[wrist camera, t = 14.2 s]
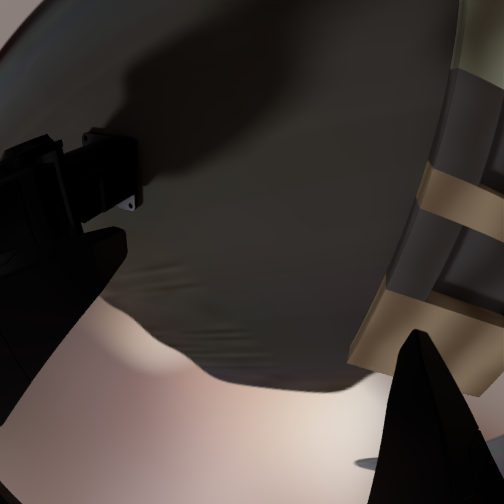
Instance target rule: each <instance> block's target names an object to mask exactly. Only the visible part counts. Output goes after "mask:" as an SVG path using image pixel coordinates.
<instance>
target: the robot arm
mask: <svg viewBox="0 0 504 504" xmlns="http://www.w3.org/2000/svg"><path fill="white" fill-rule="evenodd" d="M82 143H83V147H80V148H77V149H75V150H72V151H70V152H67V153H65V154H63V149H62V147H63V143H62V140H58V141H53V139H51V138H50V137H49V136H48V134H45V135H42V136H40V137H37V138H34V139H31V140H29V141H26V142H24V143H21V144H19V145H16V146H14V147H12V148H9V149H7V150H5V151H4V152H3V154H2V156H1V159H0V426H2V425H3V424H4V423H5V421H6V419H7V417H8V416H9V415H10V413H11V412H12V410H13V409H14V407H15V405H16V404H17V403H18V401H19V400H20V398H21V397H22V395H23V394H24V392H25V391H26V390H27V388H28V387H29V385H30V384H31V381H33V379H34V378H35V376H36V375H37V374H38V372H39V371H40V370H41V368H42V367H43V365H44V364H45V363H46V361H47V360H48V359H49V357H50V356H51V355H52V353H53V352H54V351H55V350H56V348H57V347H58V346H59V344H60V343H61V342H62V340H63V339H64V338H65V337H66V335H67V334H68V333H69V331H70V330H71V329H72V328H73V326H74V325H75V324H76V323H77V321H78V320H79V319H80V318H81V316H82V315H83V314H84V313H85V311H86V310H87V309H88V308H89V307H90V305H91V304H92V303H93V301H95V299H96V298H97V297H98V296H99V295H100V293H101V292H102V291H103V289H104V288H105V287H106V285H107V284H108V282H109V281H110V279H111V278H112V277H113V275H114V274H115V272H116V271H117V270H118V268H119V267H120V265H121V264H122V263H123V261H124V260H125V258H126V256H127V252H128V250H127V240H126V233H125V231H124V230H123V229H121V228H118V227H115V226H113V227H108V228H104V229H99V230H95V231H91V232H87V233H84V232H83V229H82V225H81V222H82V223H86V222H88V221H89V220H91V219H92V218H94V217H96V216H97V215H99V214H100V213H102V212H103V213H104V212H106V211H108V210H109V209H111V208H113V207H114V206H117V207H120V208H123V209H126V210H129V211H134V210H135V209H137V207H138V200H137V144H136V141H135V139H134V138H129V137H123V136H115V135H108V134H100V133H92V132H87V133H84V134H83V136H82ZM130 143H131V146H130ZM132 205H133V206H132ZM478 429H479V427H478V425H477V423H476V421H475V419H474V417H473V415H472V413H471V411H470V408H469V407H468V405H467V403H466V401H465V399H464V397H463V395H462V393H461V391H460V389H459V387H458V385H457V383H456V381H455V380H454V378H453V376H452V374H451V372H450V371H449V369H448V367H447V365H446V363H445V362H444V360H443V358H442V356H441V355H440V353H439V351H438V349H437V348H436V346H435V344H434V343H433V341H432V339H431V338H430V336H429V334H428V333H427V332H425V331H422V330H419V329H413V330H412V331H411V333H410V334H409V336H408V337H407V339H406V341H405V342H404V344H403V345H402V347H401V348H400V350H399V353H398V357H397V362H396V367H395V371H394V376H393V380H392V385H391V389H390V393H389V398H388V402H387V409H386V415H385V421H384V428H383V434H382V439H381V445H380V450H379V456H378V460H377V465H376V470H375V474H374V479H373V483H372V487H371V491H370V496H369V500H368V503H367V504H504V479H503V477H502V475H501V473H500V471H499V469H498V467H497V465H496V463H495V461H494V459H493V457H492V455H491V453H490V450H489V448H488V446H487V444H486V442H485V440H484V438H483V435H482V433H481V431H480V430H478ZM0 504H22V503H21V502H20V501H19V500H18V499H17V498H16V497H15V496H14V495H13V494H12V493H11V492H10V491H9V490H8V489H7V488H6V487H5V486H4V485H3V484H2V483H1V481H0Z"/></svg>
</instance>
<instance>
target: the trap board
mask: <svg viewBox="0 0 504 504" xmlns="http://www.w3.org/2000/svg"><path fill="white" fill-rule="evenodd" d="M413 329H419V330H422V331H425V332H427V333H428V334H429V336H430V338H431V339H432V341H433V343H434V344H435V346H436V348H437V349H438V351H439V353H440V355H441V356H442V358H443V360H444V362H445V363H446V365H447V367H448V369H449V371H450V372H451V374H452V376H453V378H454V380H455V381H456V383H457V385H458V387H459V389H460V391H461V393H462V394H467V395H471V396H476V397H480V396H481V395H482V394H483V393H484V392H485V391H486V390H487V389H488V388H489V387H490V385H491V384H492V383H493V382H494V381H495V380H496V379H497V378H498V377H499V376H500V374H502V372H503V371H504V0H460V1H459V12H458V21H457V29H456V37H455V44H454V50H453V56H452V62H451V68H450V73H449V78H448V83H447V88H446V93H445V97H444V102H443V106H442V110H441V114H440V118H439V122H438V126H437V130H436V134H435V137H434V141H433V144H432V148H431V151H430V155H429V158H428V161H427V165H426V168H425V171H424V174H423V177H422V180H421V183H420V186H419V189H418V192H417V195H416V198H415V201H414V204H413V207H412V209H411V212H410V215H409V218H408V220H407V223H406V226H405V228H404V231H403V233H402V236H401V238H400V241H399V243H398V246H397V248H396V251H395V253H394V256H393V258H392V260H391V263H390V265H389V267H388V270H387V272H386V274H385V276H384V279H383V281H382V283H381V285H380V288H379V290H378V292H377V294H376V296H375V298H374V300H373V303H372V305H371V307H370V309H369V311H368V313H367V315H366V317H365V319H364V321H363V323H362V325H361V327H360V329H359V331H358V333H357V335H356V337H355V339H354V340H353V342H352V344H351V346H350V351H349V357H348V361H347V363H349V364H352V365H355V366H359V367H362V368H365V369H369V370H372V371H376V372H379V373H383V374H386V375H390V376H394V371H395V367H396V362H397V357H398V353H399V350H400V348H401V347H402V345H403V344H404V342H405V341H406V339H407V337H408V336H409V334H410V333H411V331H412V330H413Z"/></svg>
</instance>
